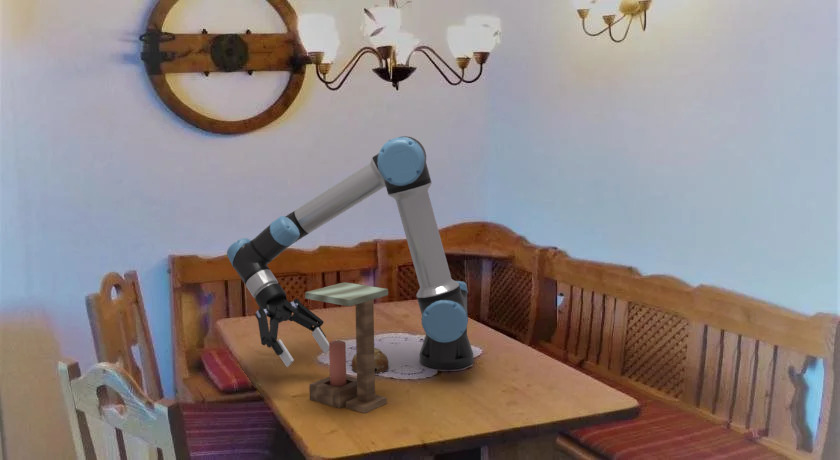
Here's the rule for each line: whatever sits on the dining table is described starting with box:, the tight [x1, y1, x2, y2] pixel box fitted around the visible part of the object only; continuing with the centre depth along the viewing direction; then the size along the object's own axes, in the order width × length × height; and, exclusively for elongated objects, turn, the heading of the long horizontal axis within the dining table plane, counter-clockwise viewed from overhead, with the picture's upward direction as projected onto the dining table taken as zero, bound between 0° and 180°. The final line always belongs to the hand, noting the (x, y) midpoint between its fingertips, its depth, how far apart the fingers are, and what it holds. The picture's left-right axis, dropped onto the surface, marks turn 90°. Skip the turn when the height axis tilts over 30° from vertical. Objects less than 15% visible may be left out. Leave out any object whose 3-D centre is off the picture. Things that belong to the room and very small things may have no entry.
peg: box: [328, 340, 347, 387], centre depth 196 cm, size 4×4×14 cm
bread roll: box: [351, 347, 389, 374], centre depth 219 cm, size 10×10×8 cm
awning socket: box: [304, 281, 389, 414], centre depth 193 cm, size 17×14×28 cm
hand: (309, 357), depth 202 cm, fingers open, 13 cm apart
